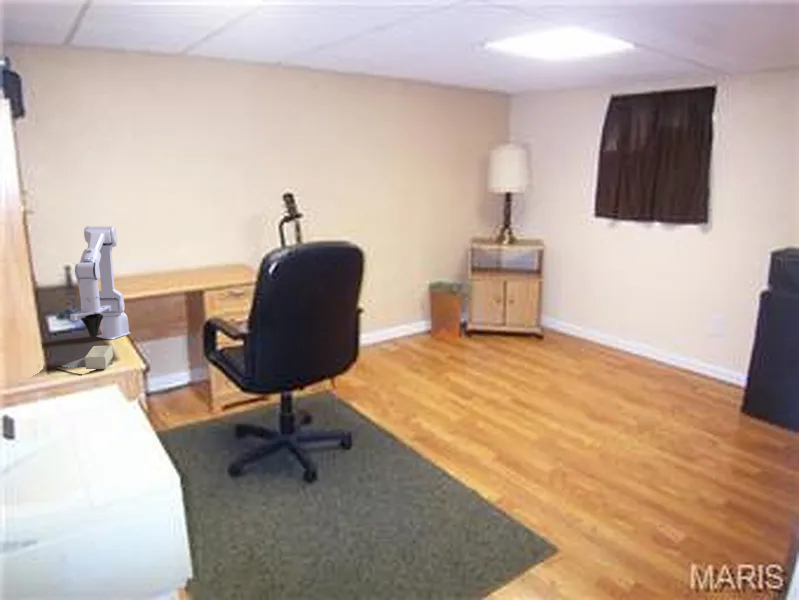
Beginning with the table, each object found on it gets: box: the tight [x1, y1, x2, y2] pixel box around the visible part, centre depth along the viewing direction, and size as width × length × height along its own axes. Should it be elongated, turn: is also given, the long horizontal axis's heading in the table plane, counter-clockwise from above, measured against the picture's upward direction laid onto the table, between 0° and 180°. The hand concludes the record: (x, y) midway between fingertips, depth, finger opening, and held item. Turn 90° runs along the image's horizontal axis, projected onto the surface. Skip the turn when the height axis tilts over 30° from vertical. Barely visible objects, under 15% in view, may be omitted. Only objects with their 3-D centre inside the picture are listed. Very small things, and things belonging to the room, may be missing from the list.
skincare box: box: [84, 345, 114, 370], centre depth 193 cm, size 6×4×12 cm
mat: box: [61, 357, 114, 368], centre depth 192 cm, size 12×12×1 cm
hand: (93, 335), depth 196 cm, fingers closed
